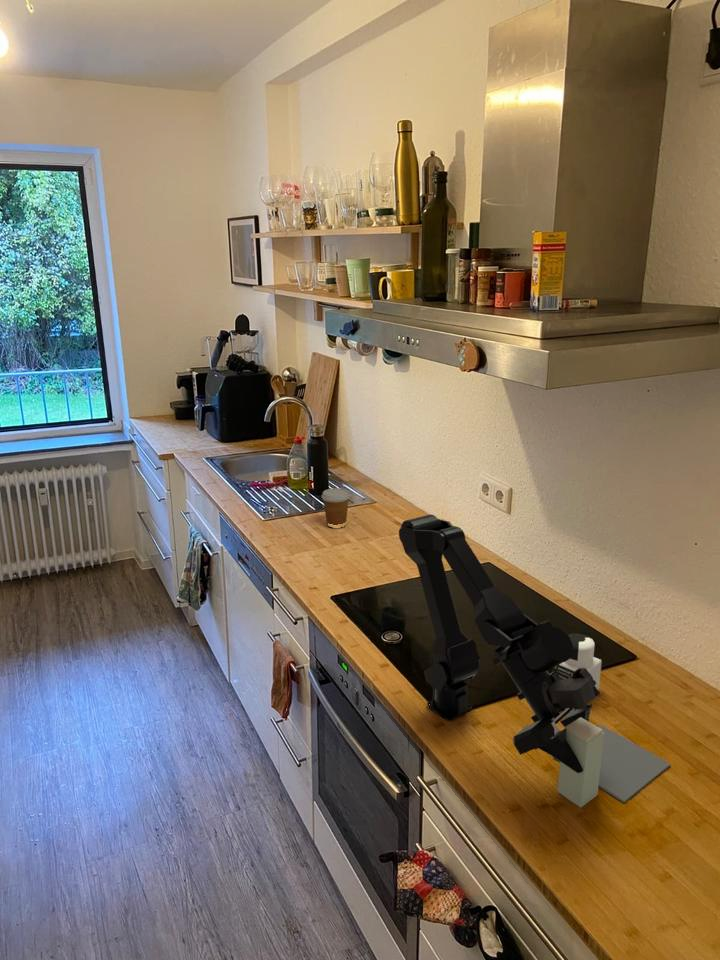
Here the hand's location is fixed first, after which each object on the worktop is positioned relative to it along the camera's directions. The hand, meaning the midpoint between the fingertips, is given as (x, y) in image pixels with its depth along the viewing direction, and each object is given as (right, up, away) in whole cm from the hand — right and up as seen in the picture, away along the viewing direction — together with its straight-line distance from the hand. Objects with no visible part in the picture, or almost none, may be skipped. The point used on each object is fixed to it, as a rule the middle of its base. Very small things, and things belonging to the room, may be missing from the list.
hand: (588, 764), depth 111 cm
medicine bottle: (+7, +2, +31) cm, 31 cm away
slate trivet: (+7, -4, +10) cm, 13 cm away
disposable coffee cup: (-45, +30, +124) cm, 135 cm away
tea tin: (-1, -6, +3) cm, 7 cm away
